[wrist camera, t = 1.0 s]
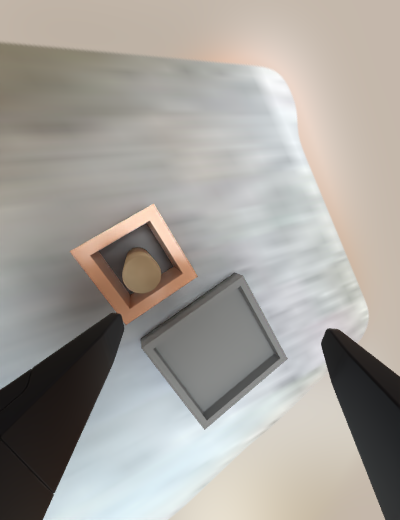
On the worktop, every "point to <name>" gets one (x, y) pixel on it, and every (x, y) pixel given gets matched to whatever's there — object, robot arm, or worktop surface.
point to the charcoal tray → (215, 349)
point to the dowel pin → (140, 271)
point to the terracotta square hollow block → (110, 283)
